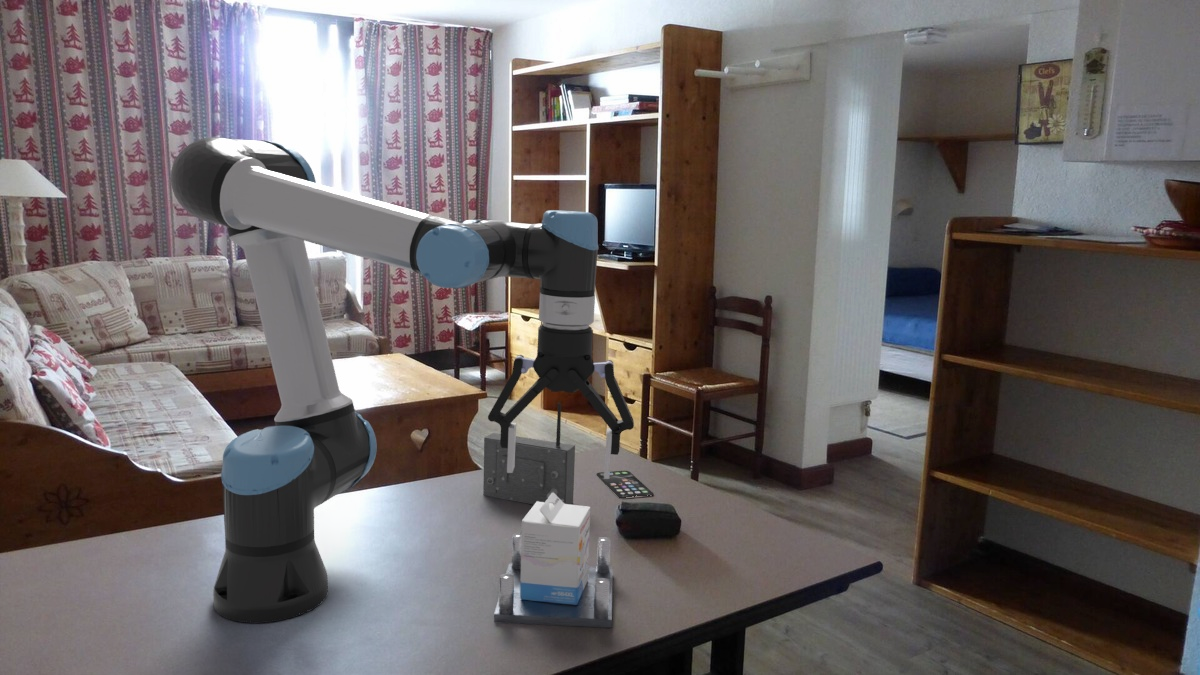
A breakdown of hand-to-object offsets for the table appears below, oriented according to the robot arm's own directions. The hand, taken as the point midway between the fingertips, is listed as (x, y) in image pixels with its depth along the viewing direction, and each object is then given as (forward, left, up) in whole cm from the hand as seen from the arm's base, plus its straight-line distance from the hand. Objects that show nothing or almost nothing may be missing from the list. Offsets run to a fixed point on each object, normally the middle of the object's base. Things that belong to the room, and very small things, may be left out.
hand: (558, 472), depth 122 cm
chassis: (0, 0, -19) cm, 19 cm away
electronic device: (-9, +37, -19) cm, 43 cm away
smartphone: (+10, +49, -19) cm, 54 cm away
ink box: (0, 0, -18) cm, 18 cm away
